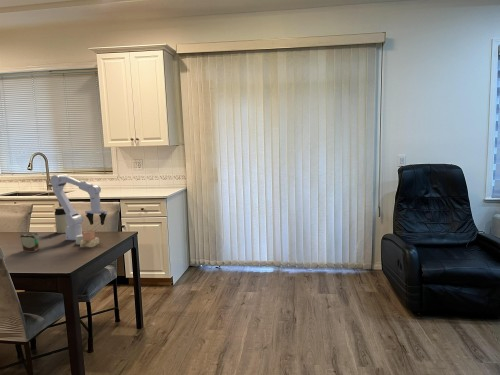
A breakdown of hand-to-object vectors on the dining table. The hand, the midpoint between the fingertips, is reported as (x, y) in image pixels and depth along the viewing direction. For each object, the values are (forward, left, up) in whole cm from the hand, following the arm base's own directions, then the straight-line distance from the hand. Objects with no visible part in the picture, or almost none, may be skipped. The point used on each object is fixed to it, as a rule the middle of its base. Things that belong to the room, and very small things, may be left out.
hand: (97, 224), depth 238 cm
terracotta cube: (+2, -13, -6) cm, 15 cm away
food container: (-27, -25, -10) cm, 38 cm away
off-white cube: (-6, -9, -10) cm, 15 cm away
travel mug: (-38, +16, -10) cm, 42 cm away
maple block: (+2, -13, -10) cm, 17 cm away
